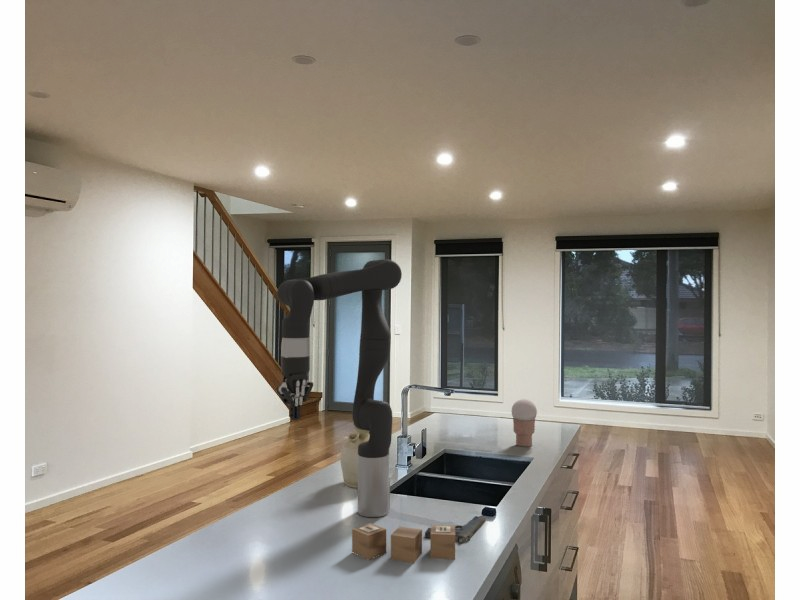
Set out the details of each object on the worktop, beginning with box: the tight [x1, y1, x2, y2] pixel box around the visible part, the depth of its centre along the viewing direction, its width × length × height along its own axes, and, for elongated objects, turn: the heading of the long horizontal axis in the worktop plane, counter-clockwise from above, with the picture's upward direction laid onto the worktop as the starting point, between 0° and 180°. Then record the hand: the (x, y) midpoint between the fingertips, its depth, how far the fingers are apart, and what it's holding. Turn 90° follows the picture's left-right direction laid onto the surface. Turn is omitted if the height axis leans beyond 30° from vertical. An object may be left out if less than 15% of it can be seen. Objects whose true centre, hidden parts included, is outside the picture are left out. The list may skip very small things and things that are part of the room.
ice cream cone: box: [511, 398, 538, 447], centre depth 268 cm, size 11×11×20 cm
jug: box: [339, 422, 370, 489], centre depth 210 cm, size 15×16×25 cm
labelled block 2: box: [429, 524, 456, 560], centre depth 152 cm, size 6×6×6 cm
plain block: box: [390, 525, 423, 564], centre depth 150 cm, size 6×6×6 cm
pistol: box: [424, 515, 486, 545], centre depth 168 cm, size 2×19×12 cm
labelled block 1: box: [351, 522, 387, 560], centre depth 152 cm, size 6×6×6 cm
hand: (295, 419), depth 163 cm, fingers closed
